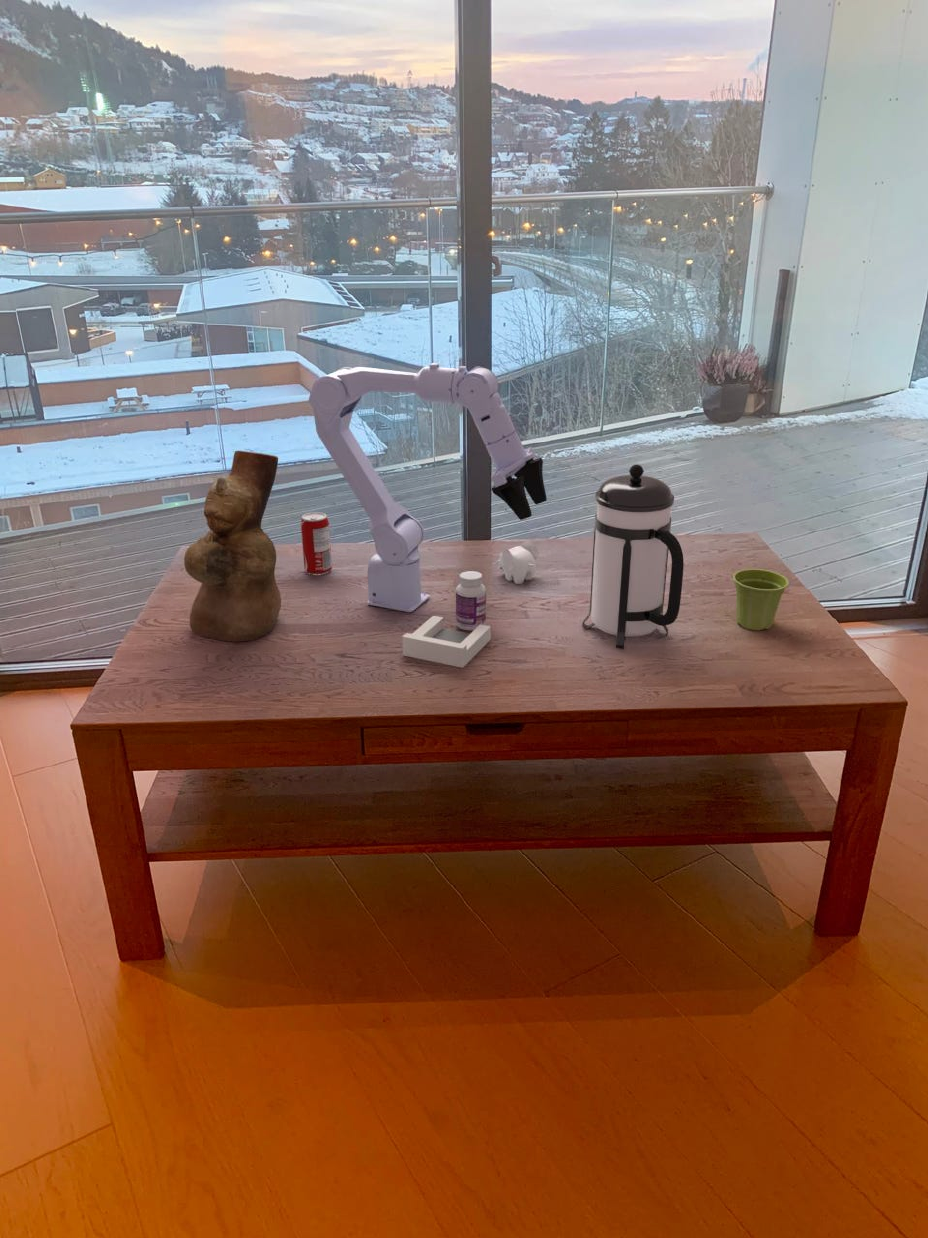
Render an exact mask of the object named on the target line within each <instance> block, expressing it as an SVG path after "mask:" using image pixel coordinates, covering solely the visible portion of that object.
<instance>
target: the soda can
mask: <svg viewBox="0 0 928 1238" xmlns="http://www.w3.org/2000/svg"><path fill="white" fill-rule="evenodd" d="M328 519H329V518H328V515H327V514H326V513H324V512H318V511H316V512H315V511H314V512H313V511H312V512H308V513H304V514H303V515H302V516H301V520H300V521H301V522H300V531H301V532H300V533H301V541H302V554H303V568H304V571H305V572H306V573H307V574H308V573H310V574H317V575H316V576H319V575H318V574H324V575H326V574H325V573H327V572H329V571H330V572H331V571H332V568H333V562H332V561H333V560H332V550H331V533H330V522H329V520H328ZM330 572H329V573H330ZM310 574H309V575H310ZM327 574H328V573H327Z"/></svg>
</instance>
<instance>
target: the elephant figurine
mask: <svg viewBox="0 0 928 1238" xmlns="http://www.w3.org/2000/svg"><path fill="white" fill-rule="evenodd" d="M539 554H540V553H539V551H538V549H537V547H536V545H535V544H534V542H532V541H531V540H526V541H524V542H522V543H521V545H517V546H514V547H512V548H509V549H507V548H506V549H505V548H504V549H503V550H502V551H501V552H500V553H499V558H498V560H496V561H495V562H493V563H492V566H493V565H496V564H497V566H498V567H497V568H498V572H500V573H504V577H505V580H507V581H509V582H512V581H513V582H514V583H515V584H516V585H521V584H523V583H524V581H525V580H526V581H529V580H532V579H534V576H535V574H536V572H537V565H536V561H535V560H537V559H538V557H539Z"/></svg>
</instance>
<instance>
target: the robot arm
mask: <svg viewBox="0 0 928 1238" xmlns="http://www.w3.org/2000/svg"><path fill="white" fill-rule="evenodd" d="M498 390H499V380H498V378H497V376H496V374H495V373H494V372H493V371H492V370H490V369H488V368H485V367H482V366H480V365H479V366H478V365H477V366H475V367H474V368H472V369H470V370H469V371H468V369H467V366H464V365H461V366H459V367H458V368H452V367H440V363H437V362H432V363H430V364H429V366H423V367H422V368H421V369H420V370H419V371H418V372H416V373H415V372H411V371H410V372H408V371H401V370H400V371H399V370H391V369H385V368H384V369H383V368H375V367H374V368H373V367H366V366H355V367H353V368H352V367H350V366H349V367H348V366H344V367H341V368H339V369H337V370H336V371H334V372H332V373H331V372H330V373H329V374H327V375H323V376H321V377H318V378H317V379H316V380H315V381H314V382H313V384H312V387H311V391H310V394H309V397H308V402H309V404H310V407H312V409H313V410H312V411H313V417H314V423H315V430H316V434H317V436H318V438H319V439H320V441H321V443H322V444H323V446H324V447H325V449H326V451H327V453H328V454H329V456H330V457H331V459H332V460H333V462H334V463H335V465H336V466H337V468H338V470H339V471H340V473H341V475H342V476H343V478H344V479H345V480H346V482H347V484H348V486H349V488H350V489H351V490H352V492H353V494H354V495H355V497H356V499H358V501H359V503H360V505H361V507H362V508H363V510H364V511H365V513H366V514H367V515H368V517H369V533H370V536H371V537H372V538H373V541H374V546H375V551H376V553H375V554H374V555H372V557H371V559H369V560H370V561H369V562H368V565H367V585H368V587H367V588H368V589H367V590H368V601H367V602H366V604H367V605H369V606H374V607H375V606H376V607H379V608H385V609H390V610H396V611H401V612H405V613H406V612H407V613H412V612H414V611H415V610H416V609H417V608H419V607H420V606H421V605H423V604H424V603H425V602H426V601H427V600H429V598H430V597H431V595H430V594H427V593H422V584H421V583H422V582H421V576H422V575H421V553H420V550H419V545H420V544H421V543H422V542H423V540H424V537H425V530H424V527H423V525H422V523H421V521H419V520H418V519H417V518H415V517H413V516H412V515H411V514H410V513H409V511H408V510H407V508H406V507H405V506H403V505H401V504H399V503H397V502H395V499H394V498H393V497H392V495H391V493H390V492H389V490H388V488H387V487H386V486H385V484H384V482H383V480H382V479H381V477H380V476H379V474H378V473H377V471H376V469H375V467H374V465H373V464H372V462H371V461H370V459H369V458H368V456H367V455H366V453H365V452H364V450H363V448H362V447H361V445H360V443H359V441H358V440H357V439H356V437H355V434H353V432H352V431H351V429H350V424H351V421H352V416H353V413H354V410H355V408H356V407H357V406H358V404H359V403H360V401H361V400H362V397H363V396H364V395H366V394H368V393H371V392H376V393H377V392H380V393H384V392H385V393H405V394H406V393H407V394H408V393H409V394H410V393H412V394H415V395H416V396H417V397H418V398H419V399H420V400H421V401H423V402H430V403H431V402H432V403H442V404H444V403H445V404H455V405H459V404H460V405H461V407H464V408H465V409H467V410H468V411H469V414H470V415H471V417H472V420H473V422H474V424H475V427H476V429H477V430H478V434H479V435H480V436H481V439H482V441H483V443H484V445H485V448H486V450H487V452H488V455H489V456H490V458H491V461H492V463H493V465H494V468H495V469H494V472H493V474H492V475H491V476H490V479H491V481H492V483H493V486H492V487H491V488H490V489H491V491H492V493H493V494H494V495H495V496H497V497H499V498H500V500H502V501H503V502H505V504H506V505H507V506H508V507H509V508H510V509H511V511H512V512H513V513H514V514H515V515H516V517H517V518H518V519H519V520H520V521H523V520H525V519H528V518H530V517H532V516H533V515H532V510H531V507H530V504H529V500H528V497H527V494H528V495H529V497H530V499H531V501H532V502H533V503H534V504H535V505H539V504H542V503H544V502H547V500H548V498H547V494H546V492H547V491H546V488H545V483H544V476H543V474H544V473H543V466H544V460H543V458H542V457H541V456H540V457H537V458H536V454H535V452H534V450H533V447H532V446H530V447H528V448H524V445H523V443H522V440H521V438H520V436H519V434H518V432H517V431H516V427H515V425H514V423H513V421H512V419H511V417H510V415H509V412H508V410H507V408H506V405H505V404H504V402H503V400H502V397H501V396H500V393H499V392H498ZM513 476H514V477H513ZM526 492H527V494H526Z"/></svg>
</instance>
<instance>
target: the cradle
mask: <svg viewBox="0 0 928 1238" xmlns="http://www.w3.org/2000/svg"><path fill="white" fill-rule="evenodd" d="M444 624H445V623H444V617H442V616H437V615H432V616H431V617H430V618H429V619H427V620H425V622H423V624H422V625H420V626H419V627H418V628H417V629H416V630H415V631H414V632H412V633H410V632H409V633H408V632H406V633H404V634H403V635H402V639H401V640H402V656H405V657H410V658H414V659H419V660H424V661H429V662H433V663H437V664H443V665H449V666H452V667H456V668H462V669H463V668H465V666H466V665H467V664H468V663H469V662H471V660H472V659H473V658H474V657H475V656H476V655H477V654H478V653H479V652H480V651H481V650H482V649H483V648H484V647H485V646H486V645H488V643H489V642H490V641H491V636H492V635H491V632H492V631H491V630H492V628H491V626H490V625H487V624H485V625H481V624H480V625H479V626H478V627H477V628H476V629H475V630H474V631H472V632H471V633H469V632H466V631H465V632H464V631H459V630H454V629H448V628H444Z"/></svg>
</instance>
